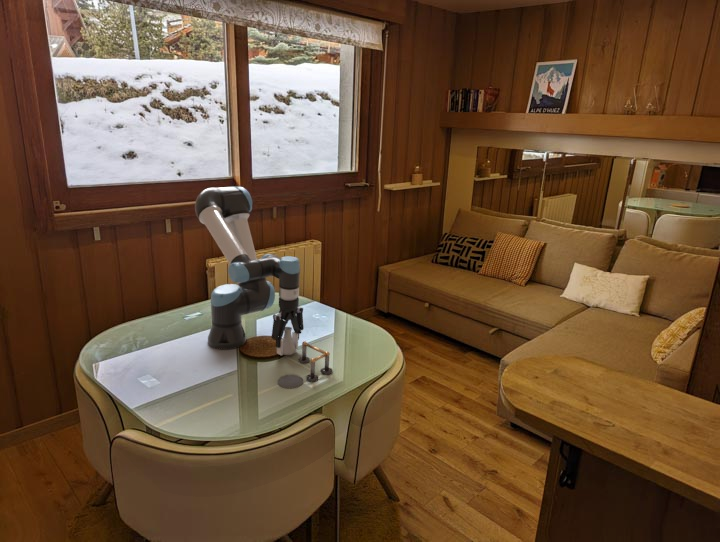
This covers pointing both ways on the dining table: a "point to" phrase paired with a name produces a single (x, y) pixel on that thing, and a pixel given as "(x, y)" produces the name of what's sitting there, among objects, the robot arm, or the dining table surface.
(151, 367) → the dining table surface
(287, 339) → the flask
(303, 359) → the wire rail
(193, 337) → the dining table surface
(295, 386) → the pad
